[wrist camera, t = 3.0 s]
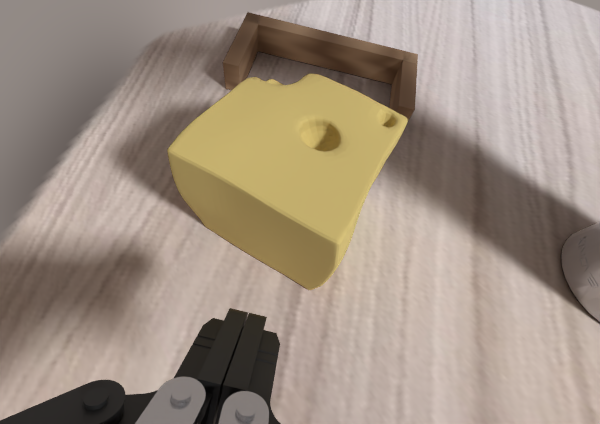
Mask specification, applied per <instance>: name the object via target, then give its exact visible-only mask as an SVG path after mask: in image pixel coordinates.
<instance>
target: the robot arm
mask: <svg viewBox="0 0 600 424" xmlns="http://www.w3.org/2000/svg"><path fill="white" fill-rule="evenodd" d="M561 258H562V268H563V271H564V275H565V278H566V280H567V282H568V284H569V286H570V288H571V290H572V292H573V293H574V295H575V296H576V298H577V299H578V301H579V302H580V303H581V304H582V305H583V306H584V308H585V309H586V310H587V311H588V312H589V313H590V314H591V315H592V316H594V317H595V318H596V319H597V320H598V321H599V322H600V222H598V223H596V224H594V225H591V226H589V227H587V228H585V229H582V230H580V231H578V232H576V233H574V234H572V235H571V236H570V237H569V238H568V239H567V240H566V242H565V244H564V246H563V249H562V256H561ZM247 315H248V317H247ZM266 318H267V317H264V316H260V315H256V314H252V313H249V314H248V312H243V311H239V310H235V309H231V308H230V309H229V311H228V313H227V315H226V318H225V320H224V321H223V320H219V319H215V318H213V319H211V320H210V321H208V322H207V323H206V324H204V325H203V326H202V328H201V330H200V332H199V334H198V336H197V337H196V339H195V341H194V343H193V345H192V346H191V348H190V350H189V352H188V353H187V355H186V357H185V359H184V361H183V362H182V364H181V366H180V368H179V370H178V371H177V373H176V375H175V377H174V378H173V379H171V380H169V381H167V382H166V383H164V384H163V385H162V386H161V387H160V388H159V390H157V391H155V392H151V393H146V394H133V395H125V391H124V388H123V387H122V386H121V385H120V384H119V383H117V382H115V381H112V380H98V381H93V382H90V383H88V384H85V385H83V386H80V387H78V388H76V389H73V390H71V391H69V392H66V393H64V394H62V395H59V396H57V397H55V398H52V399H50V400H48V401H45V402H43V403H41V404H38V405H36V406H33V407H31V408H29V409H26V410H24V411H22V412H19V413H17V414H15V415H12V416H10V417H8V418H5V419H3V420H1V421H0V424H280V423H279V422H278V421H277V419H276V418H275V417H274V415H273V413H272V410H271V407H270V398H271V393H272V387H273V381H274V375H275V369H276V363H277V358H278V352H279V346H280V343H279V340H278V337H277V334H276V333H273V332H269V331H265V330H264V326H265V322H266Z"/></svg>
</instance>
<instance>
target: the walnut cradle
mask: <svg viewBox="0 0 600 424" xmlns="http://www.w3.org/2000/svg"><path fill="white" fill-rule="evenodd" d="M258 51H259V52H263V53H267V54H271V55H275V56H279V57H283V58H287V59H291V60H295V61H300V62H304V63H308V64H312V65H316V66H320V67H324V68H328V69H332V70H336V71H340V72H344V73H348V74H352V75H356V76H360V77H364V78H369V79H373V80H377V81H381V82H385V83H389V84H392V86H391V96H390V105H389V108H390V109H392V110H394V111H396V112H397V113H399V114H401V115H403V116H405V117H406V118H407V119H408V120H409V119H410V117H411V115H412V113H413V112H414V110H415V96H416V78H417V59H418V54H414V53H410V52H406V51H402V50H398V49H394V48H390V47H386V46H382V45H378V44H374V43H370V42H366V41H362V40H358V39H354V38H350V37H346V36H342V35H337V34H333V33H329V32H325V31H321V30H317V29H313V28H309V27H305V26H301V25H297V24H293V23H289V22H285V21H281V20H277V19H273V18H269V17H265V16H261V15H256V14H252V13H247V15H246V17H245V19H244V21H243V23H242V25H241V27H240V29H239V31H238V33H237V35H236V37H235V39H234V41H233V43H232V45H231V47H230V49H229V51H228V53H227V55H226V57H225V59H224V61H223V68H224V77H225V85H226V89H229V90H233V89H234V88H235V87H236V86H237V85H238V84H240V83H241V82H243V81H244V80H246V78H247V76H248V74H249V71H250V69H251V67H252V64H253V62H254V60H255V57H256V55H257V53H258Z"/></svg>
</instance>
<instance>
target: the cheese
mask: <svg viewBox="0 0 600 424" xmlns="http://www.w3.org/2000/svg"><path fill="white" fill-rule="evenodd" d="M407 122H408V119H407V118H406V117H405V116H403V115H401V114H399V113H397V112H396V111H394V110H392V109H390V108H388V107H386V106H384V105H382V104H380V103H378V102H376V101H374V100H373V99H371V98H369V97H367V96H365V95H363V94H361V93H360V92H358V91H356V90H353V89H351V88H349V87H347V86H344V85H342V84H340V83H338V82H335V81H333V80H331V79H329V78H327V77H324V76H321V75H319V74H307V75H306V76H304V77H303V78H302V79H301V80H299V81H298V82H296V83H293V84H289V85H283V84H281V83H279V82H277V81H276V80H274V79H269V80H267V81H263V80H261V79H260V78H257V77H251V78H247V79H246V80H244V81H243V82H241V83H240V84H238V85H237V86H236V87H235V88H234V89H233V90H232V91H231V92H229V93H228V94H227V95H225V96H224V97H223V98H222V99H220V100H219V101H218V102H216V103H215V104H214V105H213V106H211V107H210V108H209V109H207V110H206V111H205V112H204V113H202V114H201V115H200V116H199V117H197V118H196V119H195V120H194V121H193V122H192V123H190V124H189V125H188V126H187V127H186V128H185V129H184V130H183V131H182V132H181V133H180V134H179V135H178V137H177V138H176V139H175V140H174V142H173V143H172V144H171V145H170V146H169V148H168V150H167V152H168V157H169V163H170V167H171V171H172V175H173V178H174V181H175V184H176V186H177V189H178V191H179V193H180V194H181V196H182V197H183V199H184V200H185V202H186V203H187V204H188V205H189V207H190V208H191V209H192V210H193V211H194V213H195V214H196V215H197V216H198V217H199V218H200V220H201V221H202V223H203V224H204V226H205V227H207V228H208V229H210V230H212V231H213V232H215V233H216V234H218V235H219V236H221V237H222V238H224V239H226V240H227V241H229V242H230V243H232V244H233V245H235V246H236V247H238V248H240V249H241V250H243V251H244V252H246V253H248V254H249V255H251V256H253V257H254V258H256V259H258V260H260V261H261V262H263V263H265V264H266V265H268V266H270V267H272V268H273V269H275V270H277V271H279V272H280V273H282V274H284V275H285V276H287V277H289V278H290V279H292V280H293V281H295V282H297V283H298V284H300V285H301V286H303V287H305V288H306V289H308V290H312V289H315V288H317V287H320V286H321V285H323V284H324V283H325V282H326V281H327V280H328V279H329V278H330V277H331V276H332V274H333V273H334V272H335V270H336V269H337V267H338V266H339V264H340V262H341V260H342V259H343V257H344V255H345V252H346V250H347V248H348V246H349V243H350V241H351V238H352V235H353V232H354V229H355V226H356V223H357V220H358V217H359V214H360V211H361V208H362V206H363V203H364V201H365V198H366V196H367V194H368V192H369V190H370V187H371V185H372V184H373V182H374V181H375V179H376V178H377V176H378V174H379V172H380V171H381V169H382V167H383V165H384V163H385V161H386V160H387V158H388V157H389V155H390V154H391V152H392V151H393V149H394V147H395V146H396V144H397V142H398V140H399V139H400V137H401V135H402V133H403V131H404V129H405V127H406V124H407Z"/></svg>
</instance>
